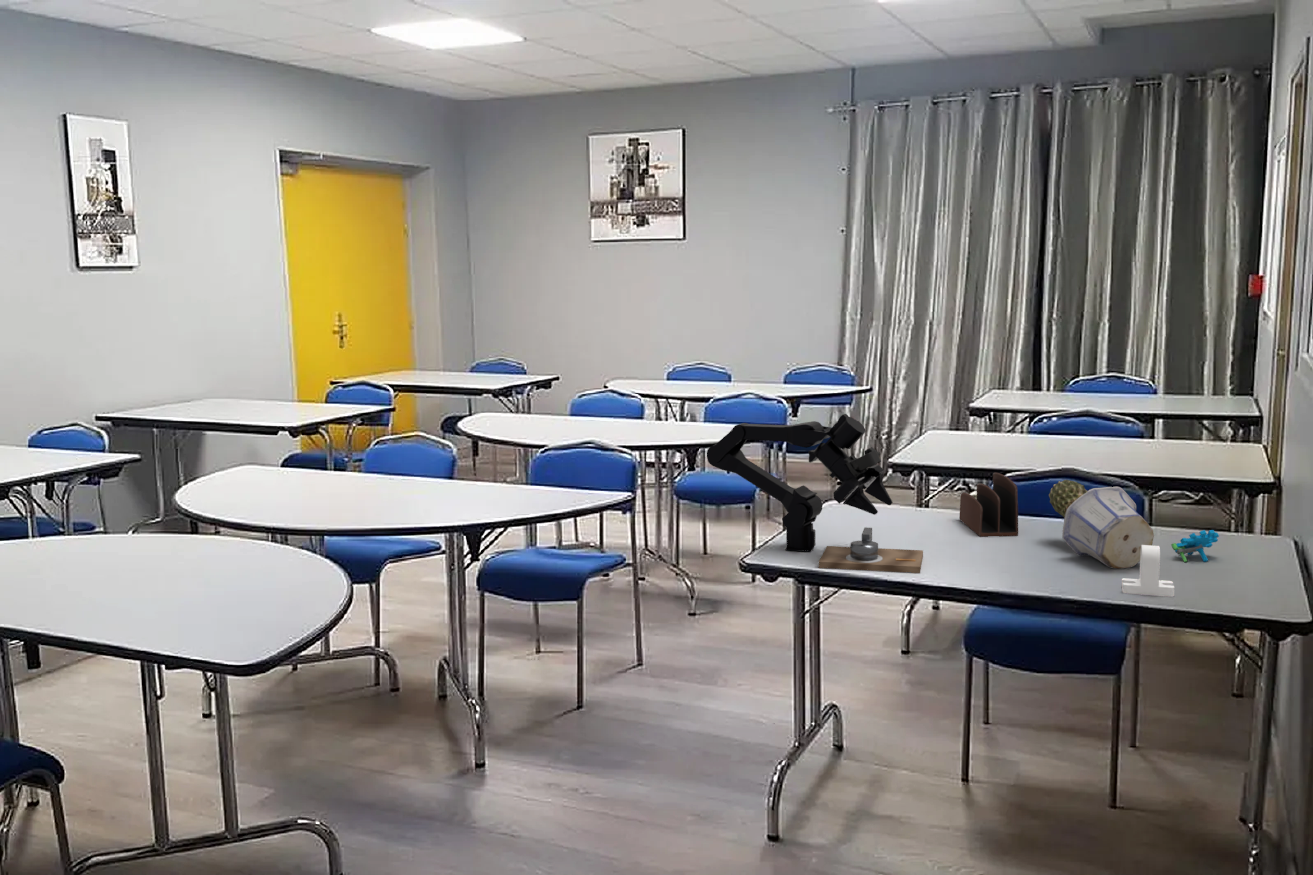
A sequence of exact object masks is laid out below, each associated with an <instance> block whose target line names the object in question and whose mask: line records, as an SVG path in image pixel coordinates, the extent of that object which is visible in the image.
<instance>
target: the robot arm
mask: <svg viewBox="0 0 1313 875" xmlns="http://www.w3.org/2000/svg"><path fill="white" fill-rule="evenodd" d="M865 433H866V427H864V425H863V424H862V423H861V422H860V421H859V420H857V419H855V418H854V417H851V416H849V415H848V414H847V413H844V414H843V413H842V415H840V416H839V418H838V420H837V421H836V422H835V423H834V425H833V426H825V425H824V426H823V425H822V424H821V422H819V421H816V420H815V421H806V422H801V423H795V424H789V425H786V424H762V423H761V424H759V423H747V422H743V423H742V422H741V423H739V424H736V425H734V426H733V427H732V428H731V430H730V431H729V432H728V433H726V435H724V436H723V437H722V438H721V439H720V440H719V441H718V442H717V443H716V444H715V443H714V444H712V445H710V446H709V447H708V449H707V451H706V458H707V462H708V463H709V464H710V465H711V466H712V467H714V468H716V469H718V470H722V471H725V472H728V473H733V474H736V475H738V476H739V477H741V478H743V479H744V480H746V481H747V482H748V483H750V484H752V485H753V486H755V487H756V488H758V489H760V490H761V491H762V492H764V493H766V494H768V495H769V496H771V497H772V498H773V499H776V500H777V501H778V502H780V503H781V505H782V506H783V508H784V509H785V511H787V513H786V514H785V515H784V516H783V517H782V519H781V521H782V524H783V527H784V528H786V529H785V530H786V531H785V532H786V535H785V536H786V538H785V539H786V546H785V548H784V550H785V551H787V550H790V552H810V553H811V552H812V551H813V549H814V548H815V546H816V529H815V528H814V522H816V519H817V517H818V516H819V515H820V514H821V513H822V511H823V502H822V499H821V498H820V497H819V496H818V492H815V491H812V490H810V489H809V488H808V487H807V486H806V485H804V484H803V485H800V486H799V487H792V486H790V485H789V484H788V483H785V482H784V481H782V480H781V479H780V478H778V477H776V476H774V475H773V474H772V473H770V472H768V471H766V469H763V468H762V467H760V466H759V465H757V464H755V463H754V462H752V461H751V460H750V459H748V458H747V457H746V455H745V454H744V452H743V450H741V449H742V448H743V447H744V446H745V444H746V442H747V441H767V442H784V443H788V444H790V445H792V446H796V447H800V448H806V449H807V448H811V447H813V446H816V445H818V446H817V447H816V448H815V449H812V450H809V451H808V462H809V463H813V462H815V461H817V460H819V462H820V463H821V464H822V465H823V466H824V467H825V468H826V469H827V470H828V471H829V472H830V474H829V477H831V479H834V478H836V479H837V480H838V481H839V482H840V483H841V484H840V485H839V486H838V487H837V488H836V489H835V491H834V492H833V500H835V501H836V502H837V504H839V505H840V504H841V503H842V505H847V506H850V507H852V508H856V509H858V510H861V511H864V512H866V513H869V514H871V515H874V516H875V515H877V514H878V513H879V511H878V509H877V508H876V507H875V505H874V504H873V503H872V502H871V500H870V499H869V498H868V497H867V495H866V494H868V495H870V496H871V497H872V498H875V499H876V500H879V501H880V502H881V503H883V504H885V505H887V506H891V505H892V504H893V500H892V499H891V497H890V495H889V492H888V491H887V488H885V485H884V482H883V480H884V476H885V475H884V474H885V473H884V471H885V470H884V468H883V467H882V466H880V465H879V464H880V463H881V462H882V460H881V458H880V455H881V452H879V451H878V449H875V448H874V447H869V448H868V449H865V450H864V455H861V456H859V457H858V458H857V457H856V456H855V455H850V456H849V455H848V454H847V453H846V452H845V451H844V450H845V449H846V450H851V449H852V448H853V446H854V445H855V444H856V443H857V442H858V441H859V440H860V439H861V438H862V436H863V435H865ZM826 439H828V440H827V441H826V442H823V441H824V440H826ZM865 493H866V494H865Z"/></svg>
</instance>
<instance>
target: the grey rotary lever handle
mask: <svg viewBox="0 0 1313 875" xmlns="http://www.w3.org/2000/svg"><path fill="white" fill-rule="evenodd" d="M849 547H850V556H851V557H852V558H854V559H859V560H872V559H876V558H878V548H879V543H878V542H877V541H874V540H873V527H867V526H866V527H864V528H863V531H862V533H861V540H853V541H851V542H850V546H849Z"/></svg>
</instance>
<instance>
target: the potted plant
mask: <svg viewBox="0 0 1313 875" xmlns="http://www.w3.org/2000/svg"><path fill="white" fill-rule="evenodd" d="M1085 487H1086V486H1085V485H1084V484H1081V483H1079V482H1078V481H1074V480H1070V479H1063V480H1062V481H1060V480H1059V481H1058V482H1057V483H1055V484H1053V486H1052V487H1051V489H1050V491H1049V494H1048V497H1049V499H1050V500H1049V503H1050V504H1051V506H1052V508H1053V509H1054V512H1056V513H1058V514H1059V515H1060V516H1062V517H1063V518H1064V519H1063V526H1062V539H1063V541H1065V543H1066V545H1068V546H1069V547H1070V549H1071V550H1072V551H1074V553H1075V554H1076V555H1077V556H1091V557H1092V558H1094V559H1096V560H1098V561H1100V563H1102V564H1104V565H1105V566H1107V567H1108V568H1111V569H1118V570H1119V569H1127V568H1133V567H1135V566H1136V565H1137V564H1138V563H1140V553H1141V545H1152V546H1153V542H1154V538H1155V535H1154V534H1155V533H1154V530H1153V528H1152V527H1151V526H1150V524H1149V523H1148V522H1147V521H1146V520H1145V519H1144V518H1143V516H1142V515H1140V514H1139V513H1138V512H1137V504H1136V503H1135V501H1134V500H1133V499H1132V498H1131V497H1130V495H1129V494H1128V493H1127V492H1126V491H1125V490H1124V489H1123V488H1122V487H1120V486H1113V487H1112V486H1107V487H1106V486H1105V487H1104V486H1103V487H1094V488H1090V489H1089V490H1087V489H1086V488H1085Z"/></svg>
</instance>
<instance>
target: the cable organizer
mask: <svg viewBox="0 0 1313 875" xmlns="http://www.w3.org/2000/svg"><path fill="white" fill-rule="evenodd" d="M1160 563H1161V548H1160V545H1153V544H1152V545H1141V553H1140V561H1139V578H1121V589H1122V592H1121V593H1123V594H1128V595H1142V596H1155V597H1169V598H1173V597H1175V585H1174V582H1173V581H1172V580H1162V579H1161V580H1160V571H1161V569H1160V566H1161V565H1160Z"/></svg>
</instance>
